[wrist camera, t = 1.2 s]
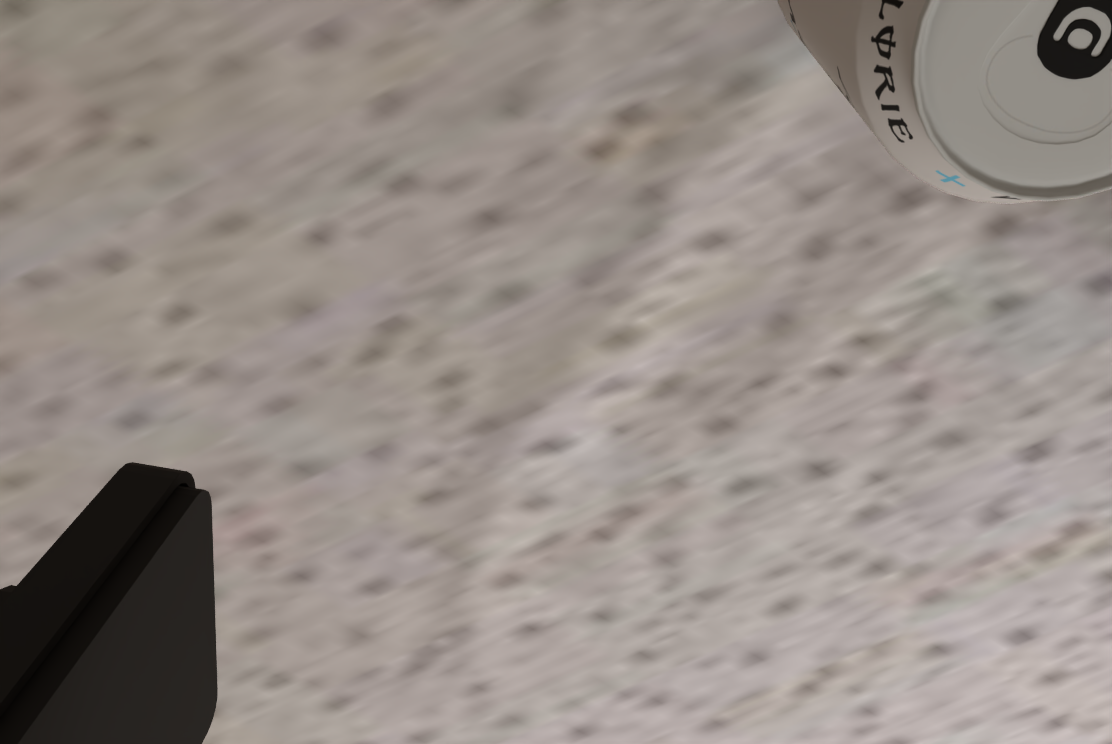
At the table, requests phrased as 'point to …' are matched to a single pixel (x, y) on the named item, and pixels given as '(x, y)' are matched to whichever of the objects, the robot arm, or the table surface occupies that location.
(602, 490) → the table surface
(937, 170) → the energy drink can
